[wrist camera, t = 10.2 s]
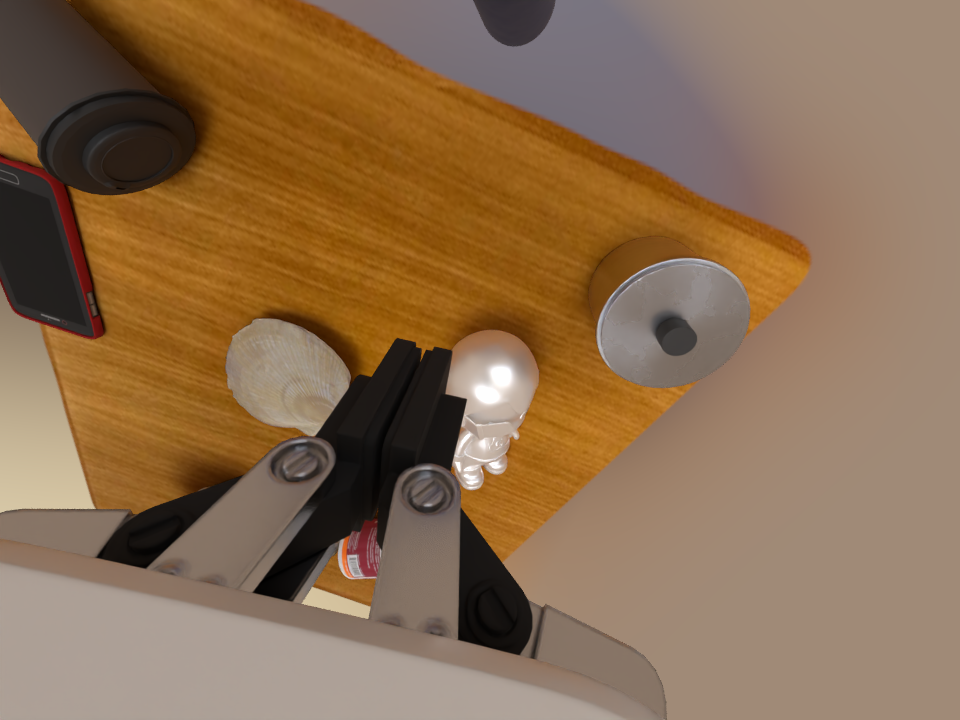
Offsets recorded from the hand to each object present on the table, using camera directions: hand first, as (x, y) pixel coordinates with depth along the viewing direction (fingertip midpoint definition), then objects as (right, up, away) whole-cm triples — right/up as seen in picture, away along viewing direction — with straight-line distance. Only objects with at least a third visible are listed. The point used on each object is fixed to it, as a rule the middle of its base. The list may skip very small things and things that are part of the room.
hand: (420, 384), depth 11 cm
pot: (+14, +6, +15) cm, 21 cm away
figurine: (+3, -2, +22) cm, 22 cm away
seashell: (-15, 0, +23) cm, 28 cm away
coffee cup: (-25, +20, +9) cm, 33 cm away
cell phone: (-35, +10, +20) cm, 41 cm away
